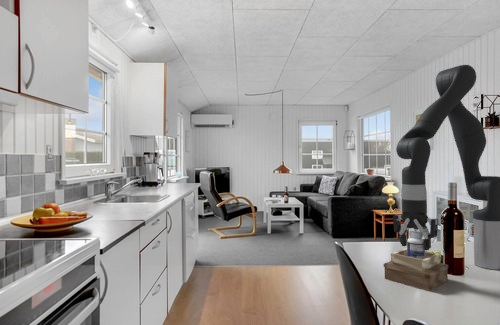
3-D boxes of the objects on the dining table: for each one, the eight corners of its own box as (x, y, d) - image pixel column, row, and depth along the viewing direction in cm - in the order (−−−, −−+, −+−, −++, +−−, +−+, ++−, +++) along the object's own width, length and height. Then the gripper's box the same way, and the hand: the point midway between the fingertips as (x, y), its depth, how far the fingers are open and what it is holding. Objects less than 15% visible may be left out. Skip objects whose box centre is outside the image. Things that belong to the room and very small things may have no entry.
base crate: (404, 269, 116) (404, 255, 116) (448, 280, 105) (448, 265, 105) (383, 278, 108) (383, 263, 108) (429, 291, 96) (428, 274, 96)
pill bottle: (409, 258, 110) (409, 229, 111) (426, 261, 107) (426, 232, 107) (405, 261, 106) (405, 232, 106) (423, 264, 103) (423, 234, 103)
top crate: (407, 257, 114) (406, 247, 114) (440, 264, 105) (440, 254, 105) (391, 263, 107) (390, 253, 107) (425, 272, 99) (425, 260, 99)
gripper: (442, 198, 103) (443, 250, 103) (398, 195, 114) (399, 242, 114) (431, 200, 98) (433, 254, 98) (387, 197, 110) (388, 245, 110)
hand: (415, 247), depth 106 cm, fingers open, 6 cm apart
